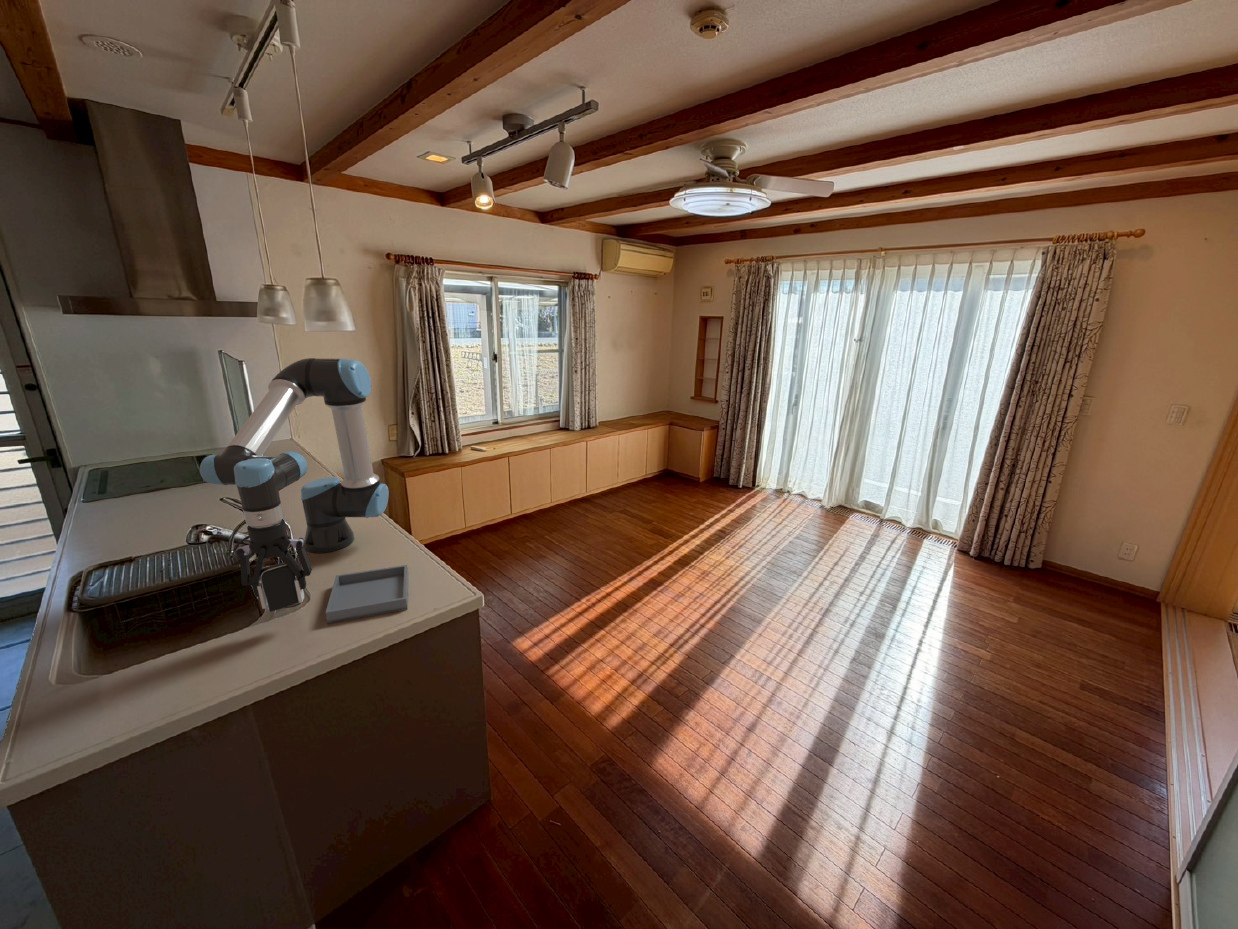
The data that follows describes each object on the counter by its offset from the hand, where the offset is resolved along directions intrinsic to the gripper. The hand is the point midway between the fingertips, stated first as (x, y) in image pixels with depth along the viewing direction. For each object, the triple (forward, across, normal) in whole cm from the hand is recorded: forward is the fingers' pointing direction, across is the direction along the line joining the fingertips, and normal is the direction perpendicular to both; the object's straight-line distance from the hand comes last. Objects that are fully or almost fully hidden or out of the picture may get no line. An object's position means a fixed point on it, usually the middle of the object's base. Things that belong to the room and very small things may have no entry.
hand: (283, 602), depth 124 cm
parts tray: (+7, +19, +8) cm, 22 cm away
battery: (+1, 0, 0) cm, 1 cm away
